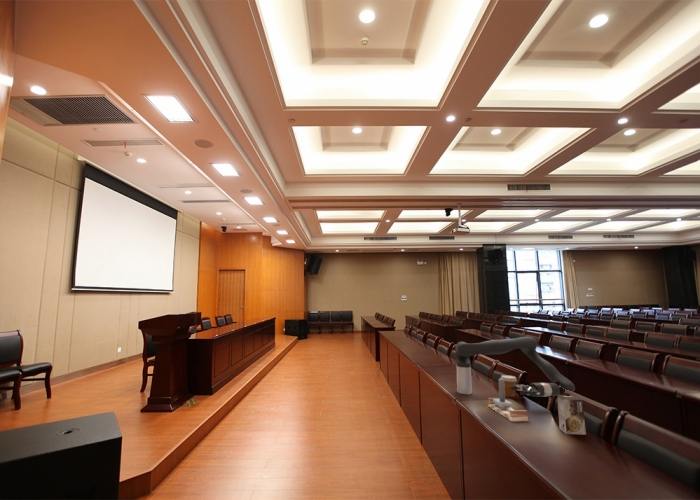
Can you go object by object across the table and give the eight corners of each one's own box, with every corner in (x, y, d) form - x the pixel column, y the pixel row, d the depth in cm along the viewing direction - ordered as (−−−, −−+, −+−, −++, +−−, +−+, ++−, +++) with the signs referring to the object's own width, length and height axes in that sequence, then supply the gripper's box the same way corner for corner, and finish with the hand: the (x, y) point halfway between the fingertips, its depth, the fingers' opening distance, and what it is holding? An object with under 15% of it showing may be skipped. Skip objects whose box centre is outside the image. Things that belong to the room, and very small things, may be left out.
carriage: (492, 404, 188) (491, 377, 190) (504, 404, 189) (502, 377, 191) (501, 409, 180) (499, 381, 182) (512, 409, 181) (511, 380, 183)
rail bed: (488, 407, 190) (488, 398, 191) (502, 406, 192) (502, 397, 192) (512, 421, 169) (511, 411, 170) (527, 420, 170) (527, 410, 171)
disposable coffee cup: (498, 394, 216) (497, 375, 217) (508, 392, 220) (507, 374, 221) (510, 398, 207) (509, 379, 209) (520, 396, 211) (519, 377, 213)
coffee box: (578, 429, 160) (575, 395, 162) (586, 435, 154) (583, 399, 156) (558, 428, 161) (556, 394, 163) (566, 434, 154) (563, 398, 157)
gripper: (531, 379, 197) (507, 380, 194) (549, 386, 183) (523, 387, 180) (532, 392, 196) (508, 393, 193) (550, 400, 182) (524, 401, 179)
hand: (515, 390), depth 187 cm, fingers open, 8 cm apart
